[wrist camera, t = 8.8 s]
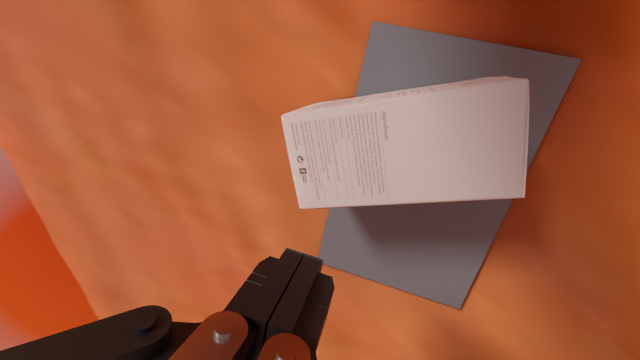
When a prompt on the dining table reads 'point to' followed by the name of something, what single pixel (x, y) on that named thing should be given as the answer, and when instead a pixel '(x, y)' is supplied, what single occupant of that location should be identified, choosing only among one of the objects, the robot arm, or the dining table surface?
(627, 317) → the dining table surface
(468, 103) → the small box
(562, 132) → the dining table surface
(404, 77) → the slate mat
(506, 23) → the dining table surface
